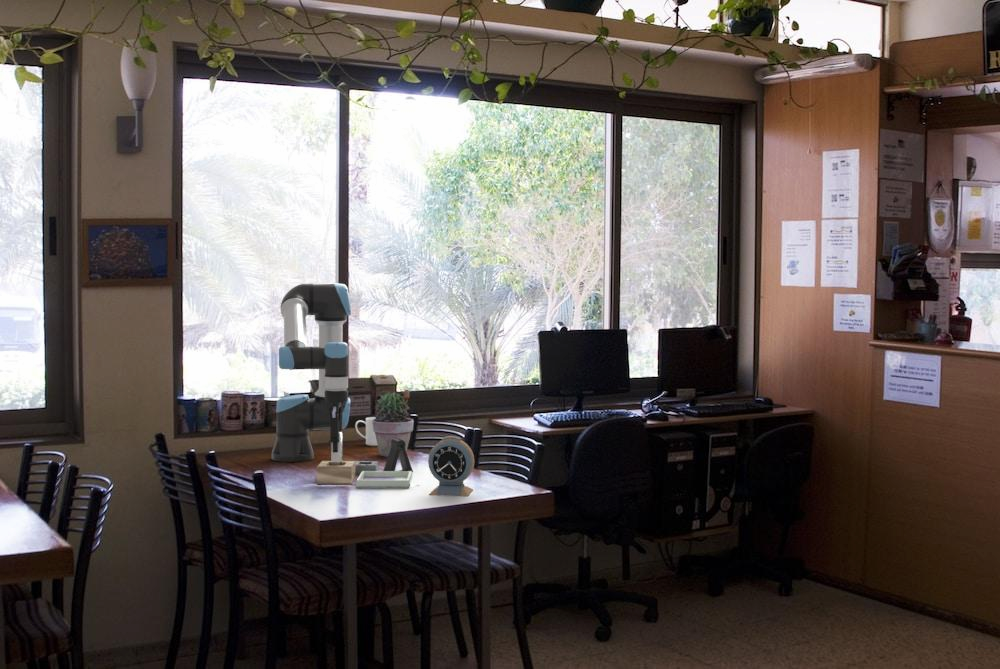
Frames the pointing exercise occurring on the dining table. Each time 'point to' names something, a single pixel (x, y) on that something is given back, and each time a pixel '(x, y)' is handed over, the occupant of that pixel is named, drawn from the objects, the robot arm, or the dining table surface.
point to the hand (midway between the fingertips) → (336, 460)
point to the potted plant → (392, 421)
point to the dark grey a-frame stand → (396, 450)
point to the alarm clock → (451, 466)
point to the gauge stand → (365, 466)
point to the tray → (384, 483)
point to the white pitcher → (368, 432)
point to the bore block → (335, 473)
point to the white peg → (340, 451)
